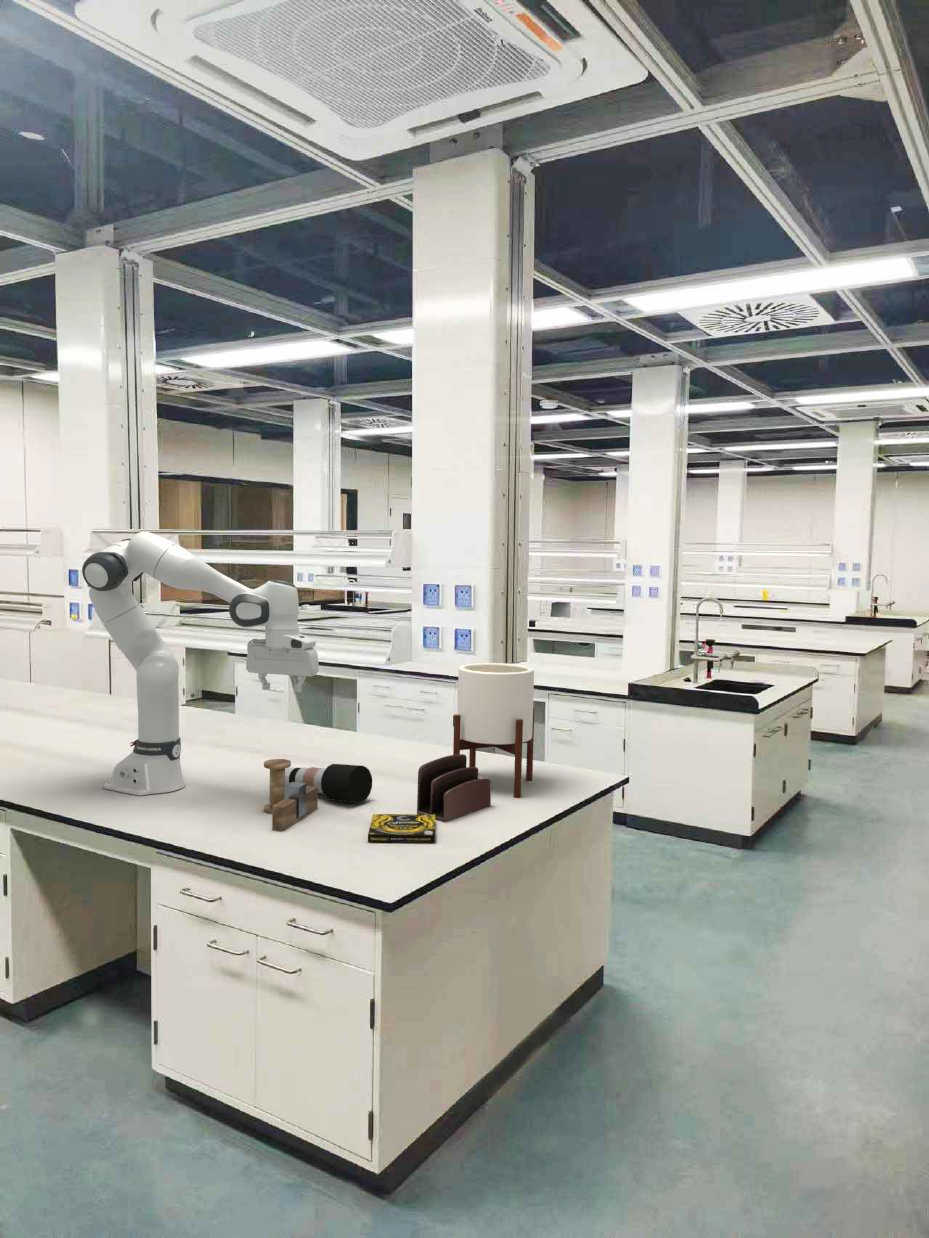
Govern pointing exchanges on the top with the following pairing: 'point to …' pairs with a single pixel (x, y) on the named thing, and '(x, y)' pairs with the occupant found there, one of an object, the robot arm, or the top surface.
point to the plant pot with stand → (496, 713)
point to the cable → (335, 781)
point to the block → (297, 796)
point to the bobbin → (276, 781)
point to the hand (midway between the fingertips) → (281, 690)
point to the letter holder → (451, 788)
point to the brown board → (293, 810)
